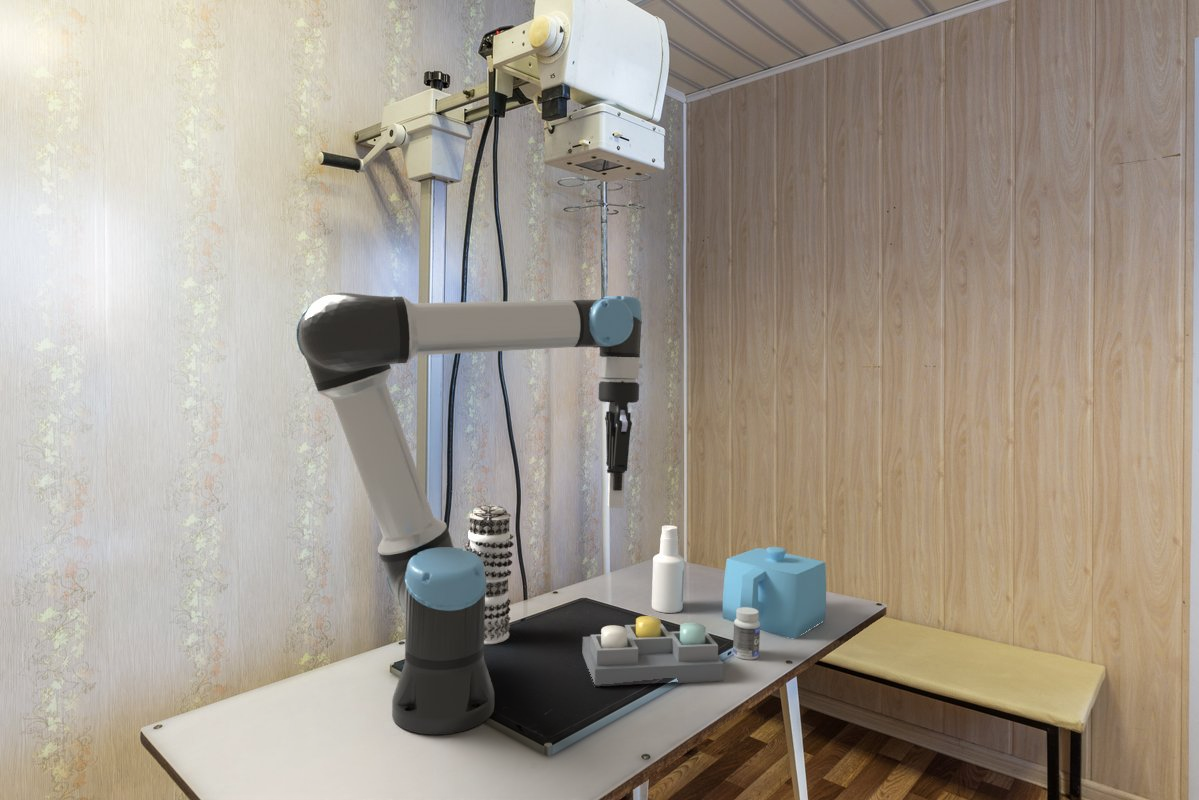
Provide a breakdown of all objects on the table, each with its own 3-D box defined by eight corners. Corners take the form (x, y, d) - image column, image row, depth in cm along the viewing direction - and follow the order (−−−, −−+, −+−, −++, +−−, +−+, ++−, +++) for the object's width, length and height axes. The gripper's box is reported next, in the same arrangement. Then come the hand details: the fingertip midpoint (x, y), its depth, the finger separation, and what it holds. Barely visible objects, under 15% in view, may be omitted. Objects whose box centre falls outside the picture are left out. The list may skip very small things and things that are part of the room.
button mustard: (638, 647, 126) (639, 625, 125) (633, 638, 130) (633, 616, 130) (662, 646, 126) (663, 624, 126) (656, 637, 131) (657, 615, 130)
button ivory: (603, 658, 120) (603, 635, 120) (598, 648, 125) (599, 625, 125) (628, 657, 121) (629, 634, 121) (623, 647, 125) (624, 624, 125)
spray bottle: (687, 607, 158) (690, 526, 157) (674, 616, 152) (676, 532, 151) (660, 601, 161) (663, 522, 160) (645, 609, 156) (648, 527, 155)
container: (708, 623, 148) (711, 550, 148) (767, 596, 167) (770, 531, 166) (784, 647, 137) (787, 567, 136) (838, 615, 156) (841, 545, 155)
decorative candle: (521, 634, 139) (524, 507, 138) (487, 649, 132) (490, 514, 131) (487, 623, 145) (490, 500, 143) (453, 636, 137) (455, 507, 136)
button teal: (683, 655, 123) (684, 632, 123) (676, 645, 127) (677, 623, 127) (708, 654, 124) (709, 631, 123) (700, 644, 128) (701, 622, 128)
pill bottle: (759, 661, 130) (760, 616, 129) (732, 658, 131) (734, 613, 130) (758, 651, 134) (760, 607, 134) (733, 648, 135) (734, 604, 135)
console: (594, 687, 117) (595, 654, 117) (582, 652, 131) (583, 623, 131) (722, 680, 121) (724, 648, 121) (697, 648, 135) (698, 619, 135)
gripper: (647, 382, 127) (643, 514, 128) (631, 380, 140) (627, 500, 141) (605, 381, 126) (601, 514, 127) (593, 379, 138) (590, 500, 140)
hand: (615, 506), depth 134 cm, fingers closed
